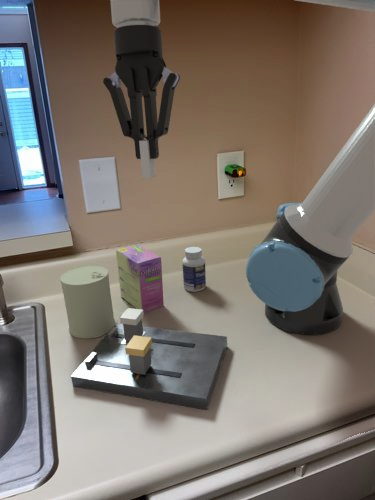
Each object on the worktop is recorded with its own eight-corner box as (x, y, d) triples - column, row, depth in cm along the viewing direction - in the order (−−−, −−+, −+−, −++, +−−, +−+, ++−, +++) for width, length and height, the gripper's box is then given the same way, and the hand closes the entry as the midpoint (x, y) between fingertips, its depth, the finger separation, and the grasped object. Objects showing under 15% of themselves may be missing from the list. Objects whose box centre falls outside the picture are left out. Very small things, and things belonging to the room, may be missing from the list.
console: (227, 346, 70) (227, 331, 69) (206, 409, 55) (206, 393, 54) (117, 331, 76) (115, 318, 75) (72, 386, 61) (70, 370, 60)
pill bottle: (198, 294, 89) (197, 255, 86) (179, 289, 92) (177, 251, 88) (210, 285, 93) (209, 247, 90) (191, 280, 96) (189, 244, 93)
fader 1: (145, 332, 71) (143, 309, 69) (138, 343, 68) (135, 319, 66) (130, 330, 72) (127, 308, 70) (122, 340, 69) (119, 317, 67)
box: (165, 305, 85) (161, 256, 81) (142, 314, 82) (137, 263, 78) (142, 289, 93) (137, 243, 89) (120, 296, 90) (115, 249, 86)
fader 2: (153, 362, 62) (151, 337, 61) (146, 376, 59) (143, 350, 58) (136, 360, 63) (134, 335, 62) (128, 373, 60) (125, 347, 59)
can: (104, 340, 73) (96, 283, 69) (60, 337, 75) (49, 281, 71) (121, 315, 82) (115, 263, 77) (81, 313, 83) (73, 262, 79)
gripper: (183, 27, 62) (189, 174, 70) (110, 35, 66) (124, 173, 74) (168, 18, 55) (177, 181, 64) (88, 27, 59) (106, 181, 67)
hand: (149, 177), depth 69 cm, fingers closed
